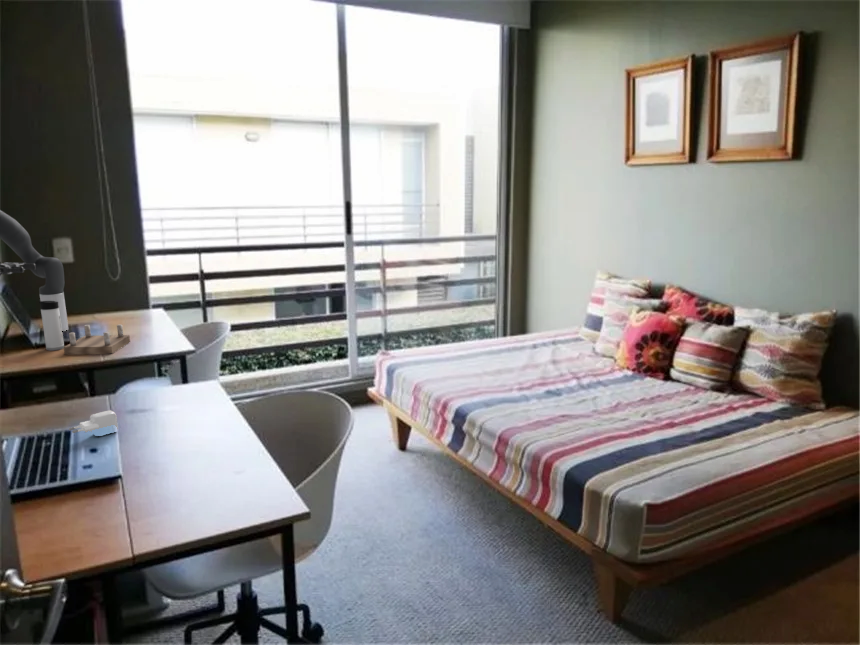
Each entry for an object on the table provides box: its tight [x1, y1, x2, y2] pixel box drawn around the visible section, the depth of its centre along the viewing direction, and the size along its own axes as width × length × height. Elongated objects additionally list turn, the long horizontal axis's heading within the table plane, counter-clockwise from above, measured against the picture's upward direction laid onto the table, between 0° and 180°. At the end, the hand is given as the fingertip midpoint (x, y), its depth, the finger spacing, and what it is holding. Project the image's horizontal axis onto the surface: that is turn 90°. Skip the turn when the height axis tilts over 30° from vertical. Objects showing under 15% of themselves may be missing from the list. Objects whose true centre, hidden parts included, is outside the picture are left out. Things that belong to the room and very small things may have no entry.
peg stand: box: [63, 324, 131, 356], centre depth 251 cm, size 18×18×8 cm
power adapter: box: [68, 409, 119, 434], centre depth 166 cm, size 11×5×6 cm, turn 137°
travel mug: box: [38, 300, 65, 352], centre depth 248 cm, size 6×7×20 cm
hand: (29, 268), depth 235 cm, fingers open, 8 cm apart
